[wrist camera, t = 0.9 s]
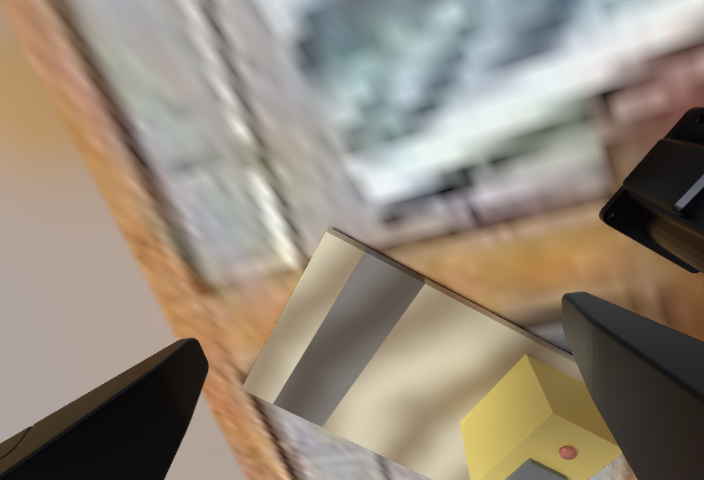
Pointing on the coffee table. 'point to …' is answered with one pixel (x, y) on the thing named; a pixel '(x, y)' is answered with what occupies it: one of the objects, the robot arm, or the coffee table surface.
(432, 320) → the plywood panel
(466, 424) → the block
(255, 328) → the coffee table surface
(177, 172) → the coffee table surface
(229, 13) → the coffee table surface
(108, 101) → the coffee table surface
